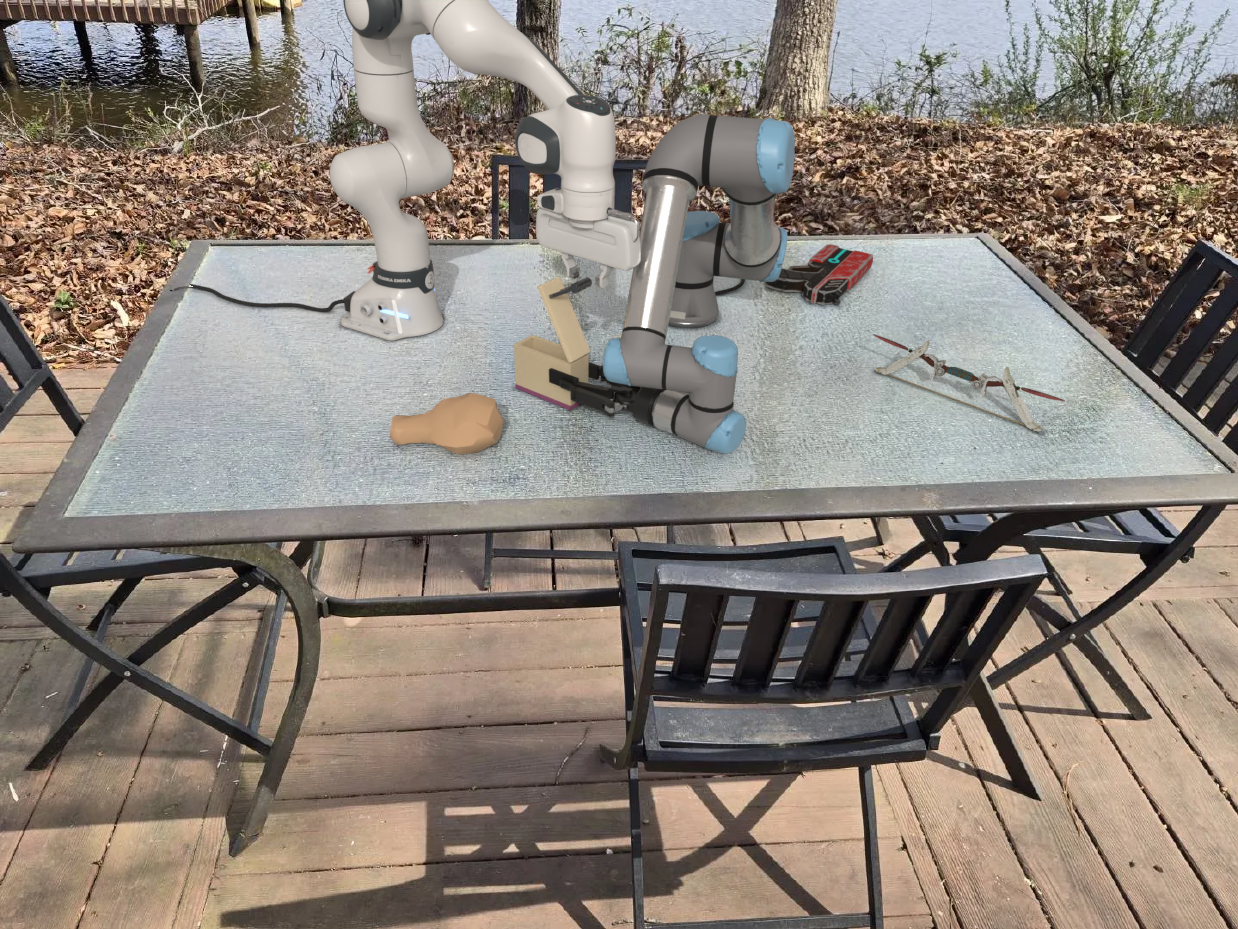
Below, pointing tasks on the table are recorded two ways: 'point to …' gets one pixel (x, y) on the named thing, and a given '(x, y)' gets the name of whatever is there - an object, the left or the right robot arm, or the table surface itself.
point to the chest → (546, 370)
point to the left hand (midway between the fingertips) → (587, 281)
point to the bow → (978, 382)
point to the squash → (452, 425)
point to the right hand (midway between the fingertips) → (561, 369)
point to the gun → (825, 275)
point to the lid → (565, 315)
